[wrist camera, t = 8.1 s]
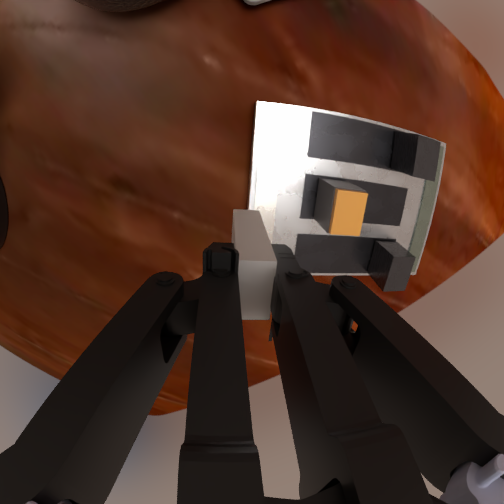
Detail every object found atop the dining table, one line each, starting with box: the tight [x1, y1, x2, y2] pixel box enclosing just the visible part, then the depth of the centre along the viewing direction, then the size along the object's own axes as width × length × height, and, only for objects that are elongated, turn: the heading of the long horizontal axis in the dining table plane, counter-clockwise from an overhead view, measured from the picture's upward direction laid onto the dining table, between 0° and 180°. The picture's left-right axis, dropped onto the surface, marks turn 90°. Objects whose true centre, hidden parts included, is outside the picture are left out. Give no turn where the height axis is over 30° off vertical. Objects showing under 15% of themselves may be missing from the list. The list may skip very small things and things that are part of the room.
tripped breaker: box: [314, 178, 368, 236], centre depth 24 cm, size 3×4×4 cm
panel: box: [247, 101, 446, 291], centre depth 26 cm, size 22×17×6 cm
